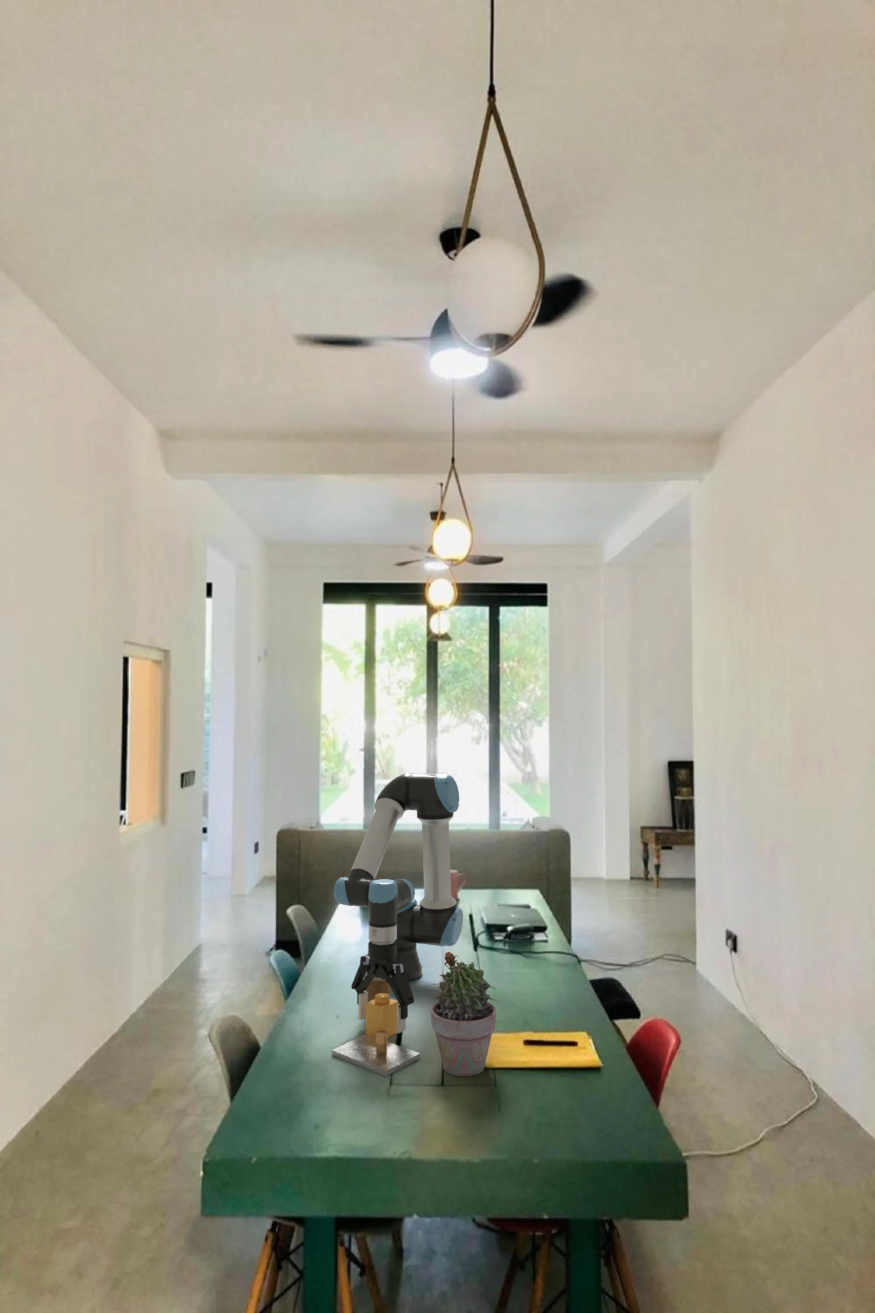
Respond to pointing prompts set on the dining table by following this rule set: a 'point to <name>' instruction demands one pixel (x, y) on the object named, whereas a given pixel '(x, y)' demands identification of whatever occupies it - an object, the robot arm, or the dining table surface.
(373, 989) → the coffee cup
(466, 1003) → the potted plant
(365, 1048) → the plate
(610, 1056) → the dining table surface
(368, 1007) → the orange knobbed block
